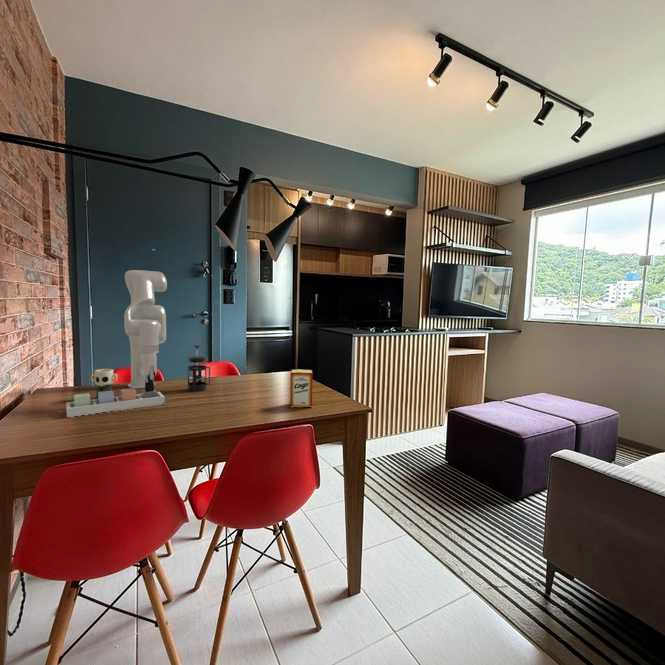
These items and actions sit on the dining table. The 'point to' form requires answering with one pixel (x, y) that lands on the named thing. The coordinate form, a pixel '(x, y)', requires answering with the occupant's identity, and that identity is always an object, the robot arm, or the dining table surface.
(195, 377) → the french press
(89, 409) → the keypad housing
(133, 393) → the key terracotta
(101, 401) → the key blue
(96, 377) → the character mug
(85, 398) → the key sage
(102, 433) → the dining table surface
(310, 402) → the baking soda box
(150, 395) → the key charcoal
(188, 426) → the dining table surface
